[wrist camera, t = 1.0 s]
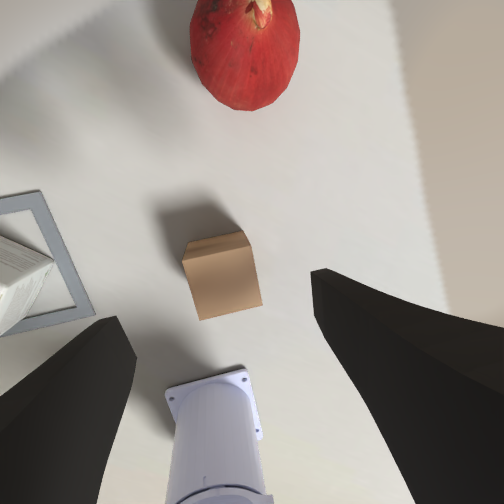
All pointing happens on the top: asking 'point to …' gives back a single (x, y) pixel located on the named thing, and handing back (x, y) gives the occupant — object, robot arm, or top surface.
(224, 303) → the walnut cube
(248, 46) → the onion
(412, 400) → the robot arm
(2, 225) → the top surface
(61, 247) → the gray square frame
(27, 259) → the small box
